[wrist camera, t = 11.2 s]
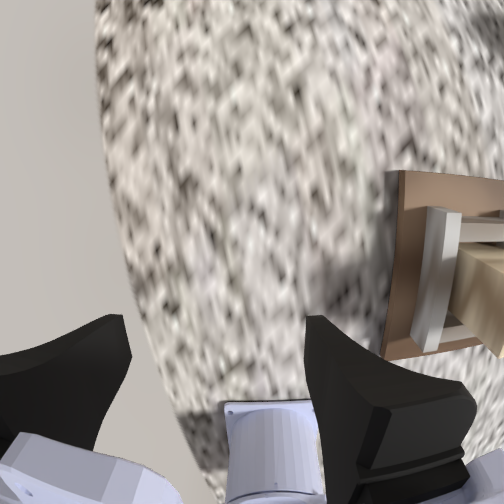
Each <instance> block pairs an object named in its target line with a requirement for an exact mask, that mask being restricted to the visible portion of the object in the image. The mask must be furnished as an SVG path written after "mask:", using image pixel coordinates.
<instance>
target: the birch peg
mask: <svg viewBox="0 0 504 504" xmlns="http://www.w3.org/2000/svg"><path fill="white" fill-rule="evenodd" d="M448 310H449V311H450V312H451V313H452V314H453V315H454V316H455V317H456V318H457V319H458V320H459V321H460V322H461V323H463V324H464V325H465V326H466V327H467V328H468V329H469V330H470V331H471V332H472V333H473V334H474V335H475V336H476V337H477V338H478V339H479V340H480V341H481V342H482V343H483V344H484V345H485V346H486V347H487V348H488V349H489V350H490V351H491V352H492V353H493V354H494V355H495V356H496V357H497V358H498V359H499V358H503V357H504V249H502V248H500V247H498V246H496V245H494V244H492V243H459V245H458V252H457V259H456V266H455V272H454V278H453V284H452V289H451V294H450V299H449V304H448Z"/></svg>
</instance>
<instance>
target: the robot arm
mask: <svg viewBox="0 0 504 504" xmlns="http://www.w3.org/2000/svg"><path fill="white" fill-rule="evenodd" d="M131 359H132V354H131V350H130V346H129V342H128V337H127V333H126V329H125V325H124V319H123V315H117V314H108V315H105V316H103V317H100V318H98V319H96V320H94V321H92V322H90V323H88V324H86V325H84V326H82V327H80V328H78V329H76V330H74V331H72V332H70V333H68V334H65V335H63V336H61V337H59V338H57V339H55V340H52V341H50V342H47V343H45V344H42V345H40V346H37V347H34V348H30V349H27V350H23V351H19V352H15V353H11V354H6V355H1V356H0V504H183V502H182V500H181V497H180V495H179V493H178V491H177V490H176V489H175V488H174V487H173V486H172V485H171V484H170V483H169V482H168V480H167V479H165V477H164V476H162V475H160V474H158V473H157V472H155V471H153V470H151V469H149V468H148V467H146V466H144V465H141V464H138V463H135V462H132V461H128V460H126V459H123V458H119V457H114V456H110V455H105V454H101V453H97V452H93V448H94V445H95V441H96V438H97V435H98V432H99V430H100V427H101V424H102V421H103V419H104V417H105V415H106V413H107V411H108V409H109V407H110V405H111V403H112V401H113V399H114V397H115V395H116V393H117V392H118V390H119V388H120V386H121V384H122V382H123V380H124V378H125V376H126V374H127V371H128V368H129V365H130V362H131ZM304 367H305V375H306V382H307V386H308V390H309V394H310V397H311V400H302V401H282V402H227V403H225V405H224V413H225V421H226V429H227V436H228V443H229V450H230V456H229V466H228V476H227V487H226V497H225V503H224V504H504V451H503V450H502V448H499V449H496V450H494V451H492V452H490V453H487V454H485V455H483V456H480V457H478V458H476V459H474V460H472V461H471V462H469V463H468V464H467V465H466V466H465V465H464V463H463V461H462V459H461V458H463V456H464V455H465V452H464V450H463V448H462V447H461V443H462V441H463V440H464V438H465V436H466V434H467V433H468V431H469V429H470V427H471V425H472V423H473V421H474V419H475V416H476V412H477V404H476V402H475V399H474V398H473V397H472V395H471V394H470V393H469V391H468V390H467V389H466V387H465V386H464V385H463V383H462V382H460V381H453V380H447V379H441V378H436V377H431V376H428V375H424V374H420V373H417V372H414V371H411V370H408V369H405V368H403V367H400V366H398V365H395V364H393V363H391V362H388V361H386V360H384V359H382V358H381V357H379V356H377V355H375V354H373V353H371V352H370V351H368V350H367V349H365V348H364V347H362V346H361V345H359V344H358V343H356V342H355V341H353V340H352V339H351V338H349V337H348V336H347V335H346V334H344V333H343V332H342V331H341V330H340V329H338V328H337V327H336V326H335V325H334V324H332V323H331V322H330V321H329V320H328V319H327V318H325V317H324V316H323V315H316V316H306V333H305V349H304ZM313 409H314V410H313ZM229 411H232V412H229ZM318 428H319V433H320V439H321V447H322V455H323V465H324V475H325V487H326V495H325V494H323V487H322V481H321V475H320V468H319V462H318V456H317V450H316V444H315V442H316V436H317V430H318Z"/></svg>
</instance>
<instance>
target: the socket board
mask: <svg viewBox="0 0 504 504" xmlns="http://www.w3.org/2000/svg"><path fill="white" fill-rule="evenodd" d="M459 243H492V244H494V245H496V246H498V247H500V248H502V249H504V181H502V180H495V179H488V178H480V177H472V176H463V175H454V174H444V173H433V172H421V171H407V170H399V194H398V216H397V232H396V244H395V255H394V265H393V274H392V282H391V290H390V298H389V305H388V311H387V318H386V324H385V329H384V335H383V341H382V346H381V351H380V356H381V358H382V359H384V360H386V361H392V360H399V359H406V358H412V357H419V356H425V355H431V354H436V353H442V352H447V351H452V350H457V349H462V348H467V347H471V346H476V345H480V344H483V343H482V342H481V341H480V340H479V339H478V338H477V337H476V336H475V335H474V334H473V333H472V332H471V331H470V330H469V329H468V328H467V327H466V326H465V325H464V324H463V323H461V322H460V321H459V320H458V319H457V318H456V317H455V316H454V315H453V314H452V313H451V312H450V311H449V310H448V304H449V299H450V294H451V289H452V284H453V278H454V272H455V266H456V259H457V252H458V245H459Z"/></svg>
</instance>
